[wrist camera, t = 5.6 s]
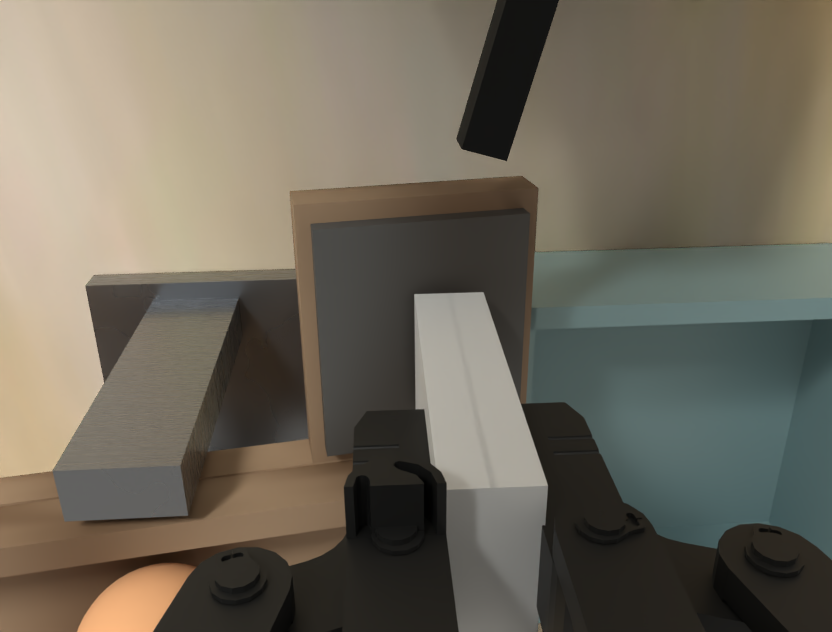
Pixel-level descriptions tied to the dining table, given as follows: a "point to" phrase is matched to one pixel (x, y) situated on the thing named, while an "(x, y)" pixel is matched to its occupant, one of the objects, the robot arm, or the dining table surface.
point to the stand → (181, 386)
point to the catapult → (324, 391)
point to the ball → (136, 599)
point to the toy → (505, 75)
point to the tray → (697, 379)
